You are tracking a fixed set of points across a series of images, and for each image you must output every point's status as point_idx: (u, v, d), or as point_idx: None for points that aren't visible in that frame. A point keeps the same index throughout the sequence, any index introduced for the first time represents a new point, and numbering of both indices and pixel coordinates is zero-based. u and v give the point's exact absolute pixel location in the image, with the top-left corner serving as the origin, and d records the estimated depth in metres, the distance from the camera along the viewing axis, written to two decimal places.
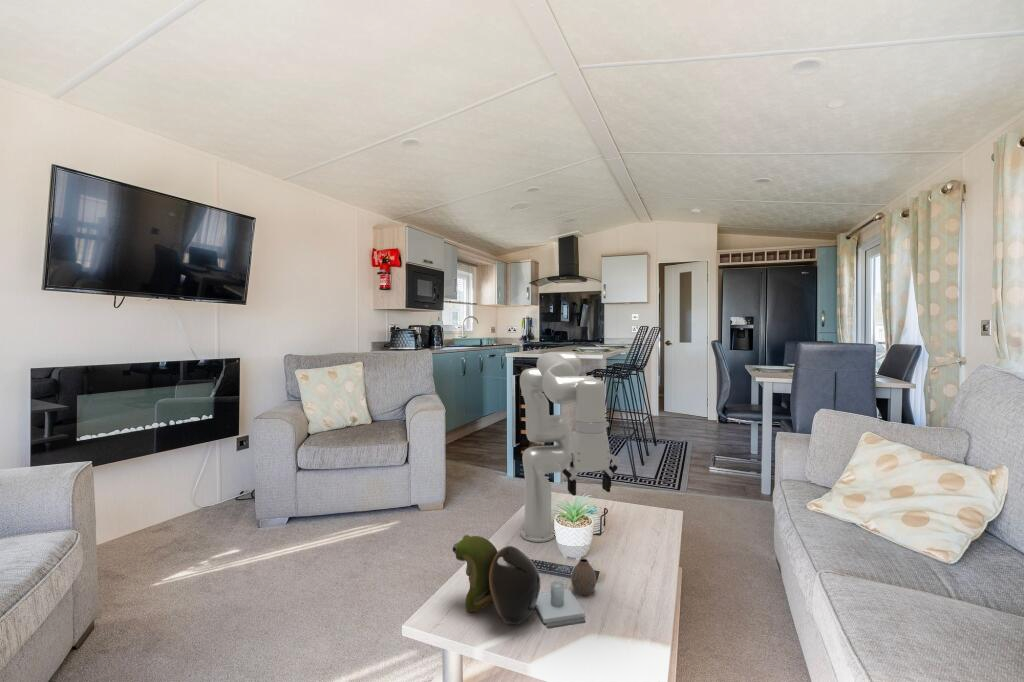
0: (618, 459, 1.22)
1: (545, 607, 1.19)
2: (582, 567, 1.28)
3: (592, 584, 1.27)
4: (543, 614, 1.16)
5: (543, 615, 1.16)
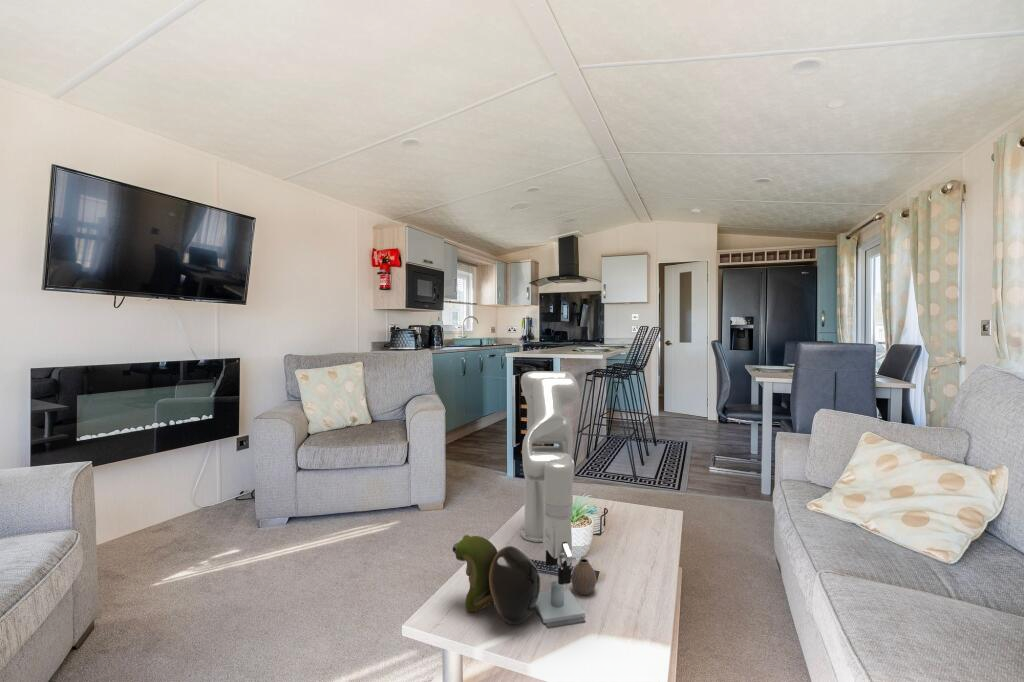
0: None
1: (545, 607, 1.19)
2: (582, 567, 1.28)
3: (592, 584, 1.27)
4: (543, 614, 1.16)
5: (543, 615, 1.16)
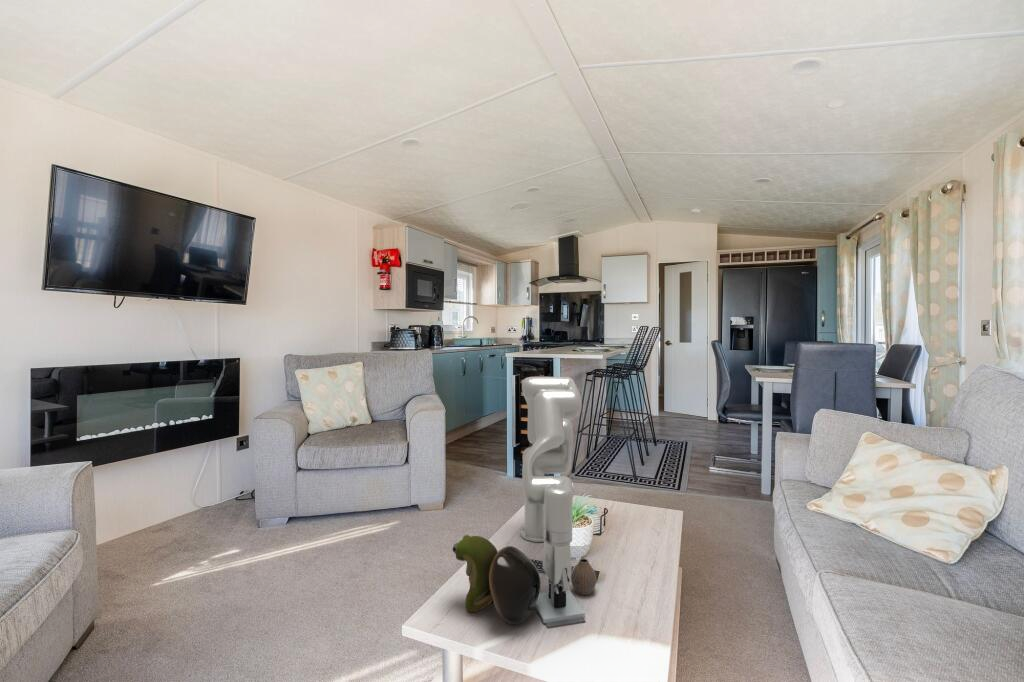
0: None
1: (545, 607, 1.19)
2: (582, 567, 1.28)
3: (592, 584, 1.27)
4: (543, 614, 1.16)
5: (543, 615, 1.16)
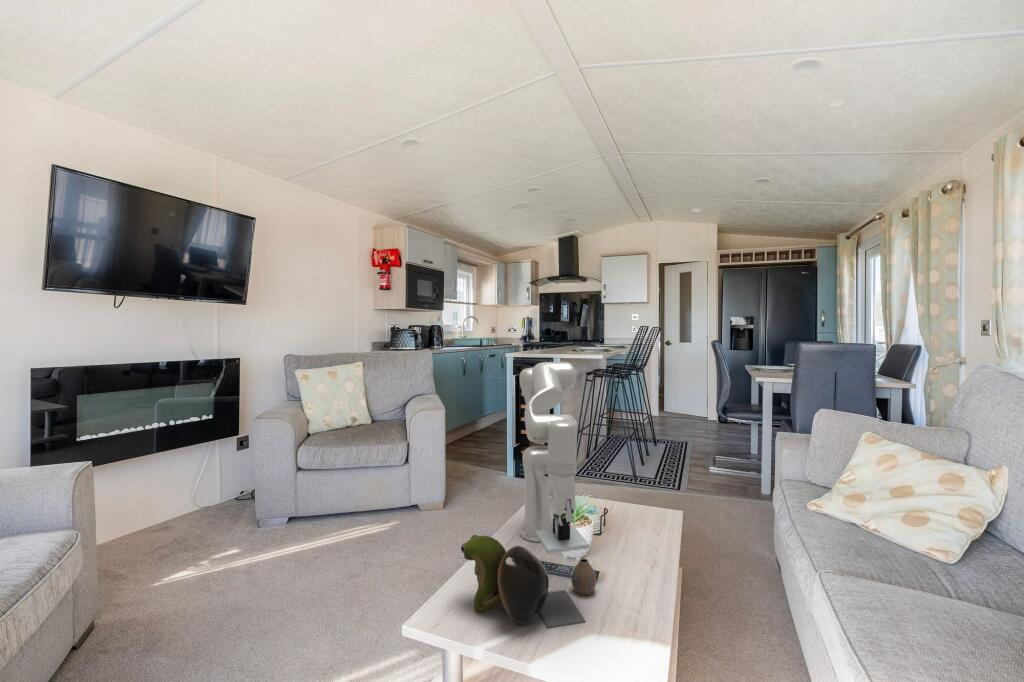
0: None
1: (549, 540, 1.20)
2: (582, 567, 1.28)
3: (592, 584, 1.27)
4: (547, 546, 1.17)
5: (547, 546, 1.17)
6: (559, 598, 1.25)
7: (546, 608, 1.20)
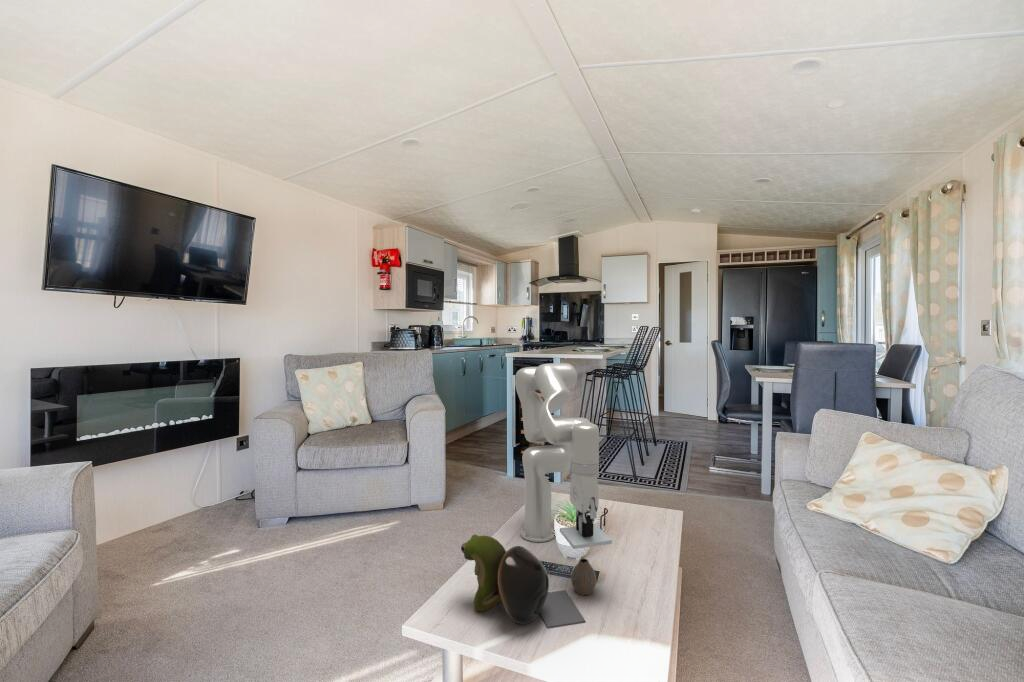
0: None
1: (573, 536, 1.27)
2: (582, 567, 1.28)
3: (592, 584, 1.27)
4: (572, 542, 1.24)
5: (573, 542, 1.24)
6: (559, 598, 1.25)
7: (546, 608, 1.20)
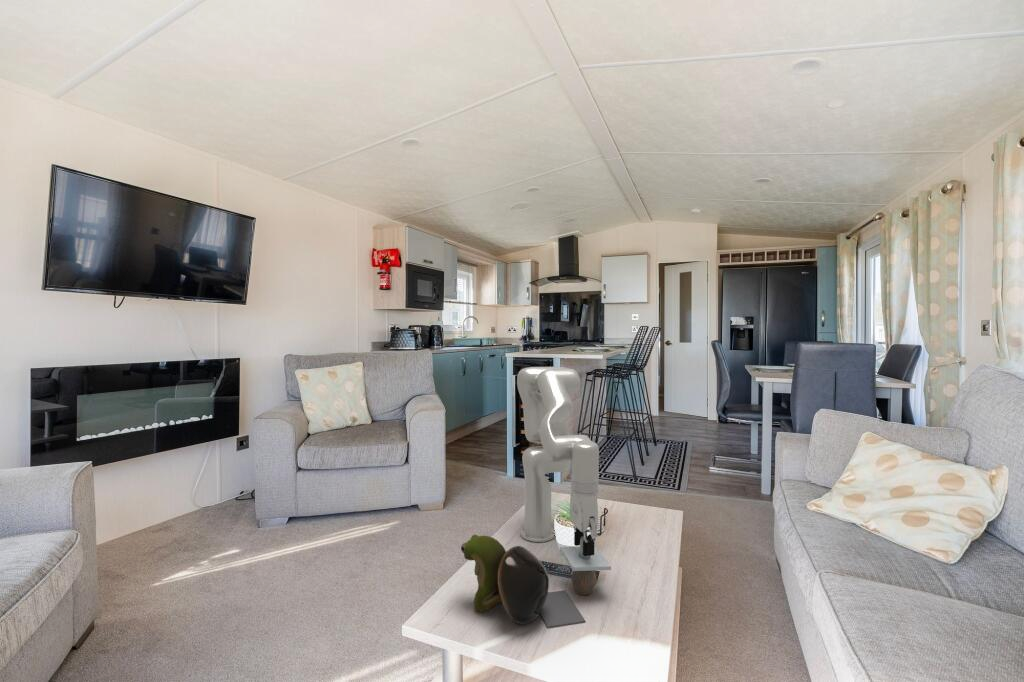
0: None
1: (573, 558, 1.28)
2: None
3: (592, 584, 1.27)
4: (572, 563, 1.25)
5: (572, 564, 1.24)
6: (559, 598, 1.25)
7: (546, 608, 1.20)
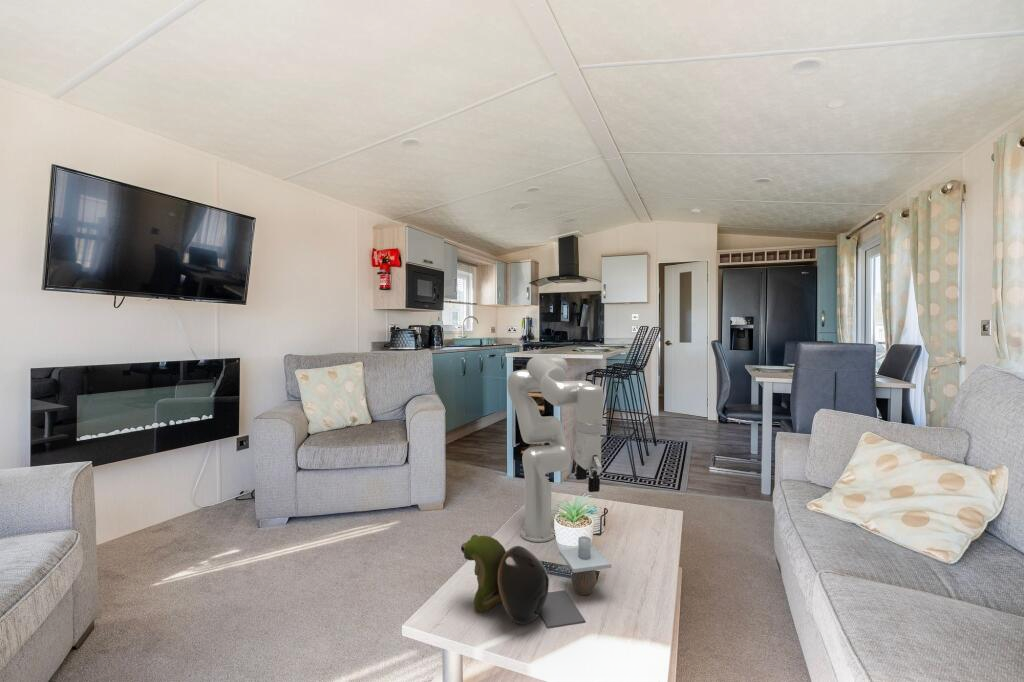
0: None
1: (573, 559, 1.28)
2: None
3: (592, 584, 1.27)
4: (572, 565, 1.25)
5: (572, 566, 1.24)
6: (559, 598, 1.25)
7: (546, 608, 1.20)
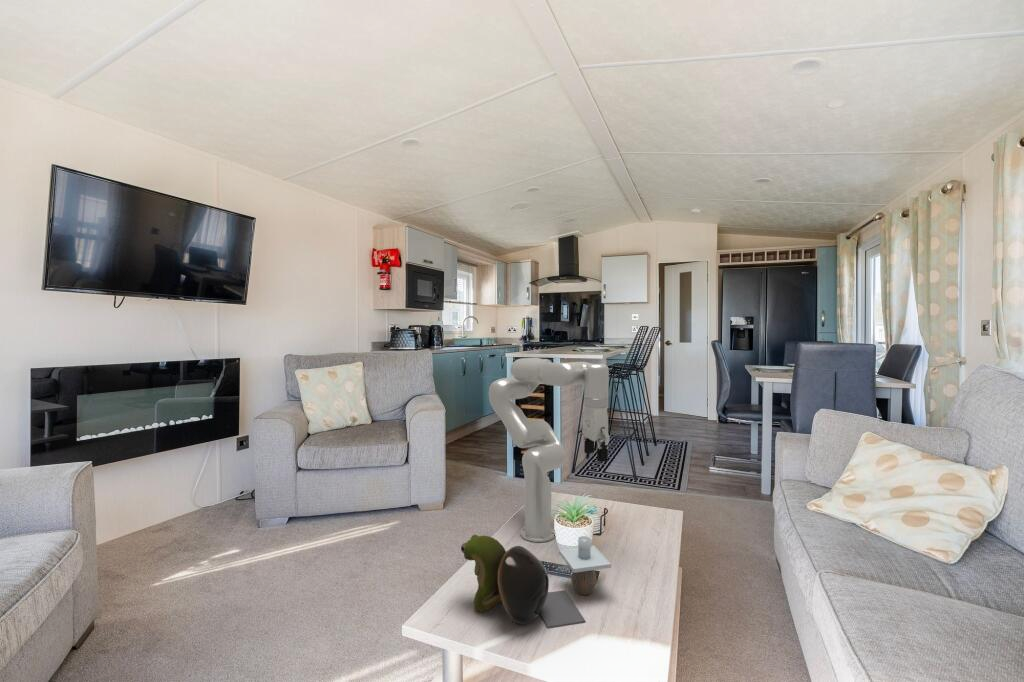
0: None
1: (573, 559, 1.28)
2: None
3: (592, 584, 1.27)
4: (572, 565, 1.25)
5: (572, 566, 1.24)
6: (559, 598, 1.25)
7: (546, 608, 1.20)
